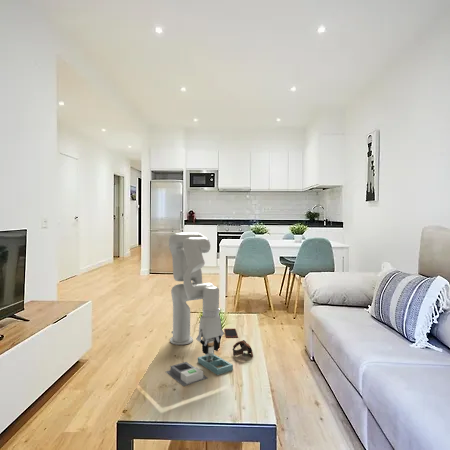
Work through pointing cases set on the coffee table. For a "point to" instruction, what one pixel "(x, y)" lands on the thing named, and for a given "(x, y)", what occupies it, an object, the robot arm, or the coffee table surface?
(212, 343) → the test cell
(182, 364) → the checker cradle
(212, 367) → the teal rectangular open box
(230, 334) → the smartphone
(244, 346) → the brown arched frame
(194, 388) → the coffee table surface
